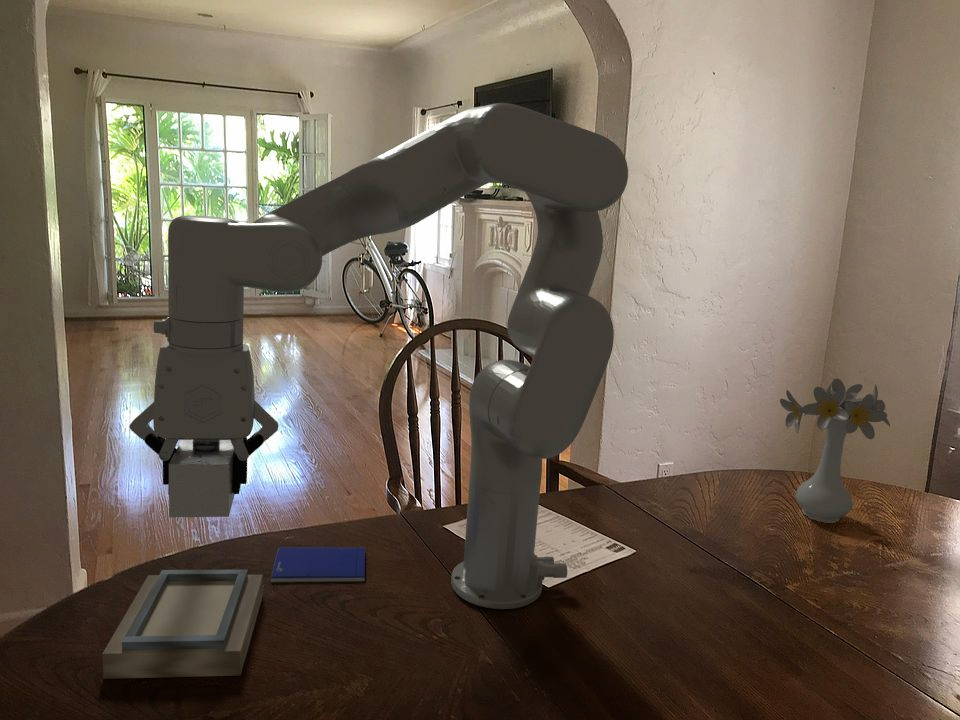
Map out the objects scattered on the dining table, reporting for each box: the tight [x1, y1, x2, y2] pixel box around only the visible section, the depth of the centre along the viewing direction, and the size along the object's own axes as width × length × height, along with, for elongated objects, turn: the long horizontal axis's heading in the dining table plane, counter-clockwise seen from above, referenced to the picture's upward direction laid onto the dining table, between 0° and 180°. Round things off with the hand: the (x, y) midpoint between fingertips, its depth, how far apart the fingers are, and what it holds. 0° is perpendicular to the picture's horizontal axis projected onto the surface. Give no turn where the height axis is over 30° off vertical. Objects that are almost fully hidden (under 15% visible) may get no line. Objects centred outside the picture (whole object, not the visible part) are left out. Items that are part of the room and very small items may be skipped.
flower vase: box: [779, 377, 891, 522], centre depth 129 cm, size 13×18×25 cm
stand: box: [101, 569, 264, 680], centre depth 86 cm, size 14×16×4 cm
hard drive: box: [270, 546, 366, 583], centre depth 104 cm, size 2×8×12 cm
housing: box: [168, 440, 236, 518], centre depth 83 cm, size 10×6×7 cm, turn 12°
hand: (205, 488), depth 83 cm, fingers closed on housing, 6 cm apart
